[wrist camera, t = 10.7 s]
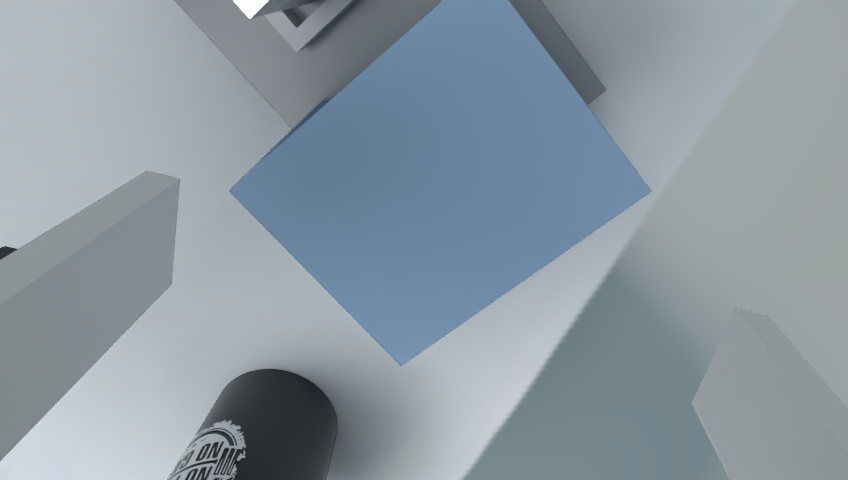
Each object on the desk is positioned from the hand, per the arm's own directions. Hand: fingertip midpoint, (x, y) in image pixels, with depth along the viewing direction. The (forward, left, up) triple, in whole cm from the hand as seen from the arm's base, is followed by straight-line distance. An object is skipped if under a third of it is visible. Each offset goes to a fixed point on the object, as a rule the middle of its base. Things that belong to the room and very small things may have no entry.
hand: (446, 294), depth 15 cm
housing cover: (0, 0, -21) cm, 21 cm away
